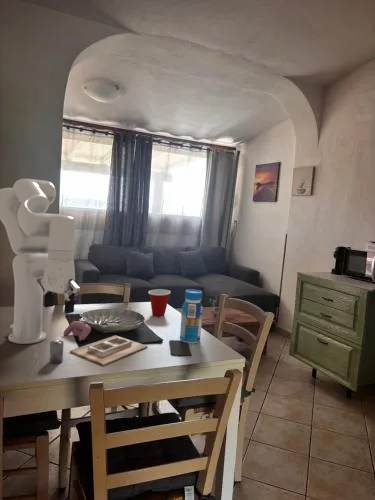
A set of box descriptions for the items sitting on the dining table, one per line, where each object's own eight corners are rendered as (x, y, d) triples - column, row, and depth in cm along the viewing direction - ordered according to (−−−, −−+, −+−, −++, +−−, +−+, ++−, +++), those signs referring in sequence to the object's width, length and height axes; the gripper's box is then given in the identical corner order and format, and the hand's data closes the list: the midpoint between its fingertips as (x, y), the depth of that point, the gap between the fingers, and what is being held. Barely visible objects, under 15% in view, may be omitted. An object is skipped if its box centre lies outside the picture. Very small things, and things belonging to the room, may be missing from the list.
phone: (187, 340, 146) (192, 355, 131) (187, 342, 146) (191, 357, 132) (168, 339, 145) (171, 354, 131) (168, 342, 146) (171, 356, 131)
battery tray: (70, 352, 127) (70, 345, 127) (115, 336, 145) (115, 331, 145) (103, 365, 118) (103, 359, 118) (147, 347, 137) (147, 341, 136)
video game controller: (87, 343, 140) (94, 325, 142) (80, 341, 136) (87, 322, 138) (69, 337, 145) (76, 320, 147) (61, 334, 141) (68, 317, 143)
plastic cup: (144, 312, 183) (146, 288, 181) (165, 312, 186) (167, 288, 185) (148, 318, 172) (150, 293, 171) (171, 318, 176) (173, 293, 174)
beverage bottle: (174, 339, 148) (178, 289, 146) (189, 335, 154) (193, 287, 152) (189, 345, 142) (194, 294, 140) (204, 341, 148) (209, 292, 146)
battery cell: (46, 361, 118) (47, 340, 117) (57, 358, 121) (58, 337, 121) (54, 365, 116) (55, 343, 115) (65, 361, 119) (66, 340, 118)
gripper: (32, 252, 116) (31, 306, 118) (69, 259, 107) (67, 317, 109) (53, 251, 123) (51, 302, 124) (89, 258, 113) (87, 313, 115)
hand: (58, 309), depth 117 cm, fingers open, 9 cm apart
